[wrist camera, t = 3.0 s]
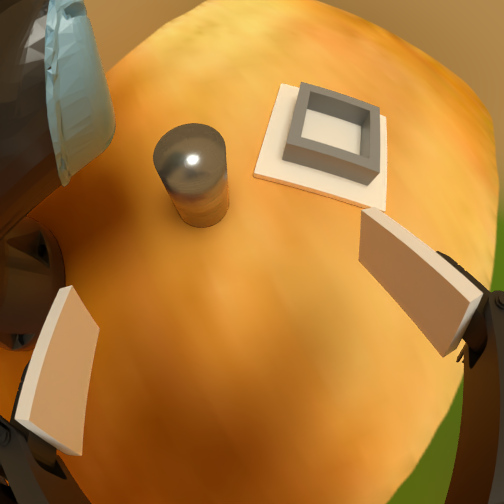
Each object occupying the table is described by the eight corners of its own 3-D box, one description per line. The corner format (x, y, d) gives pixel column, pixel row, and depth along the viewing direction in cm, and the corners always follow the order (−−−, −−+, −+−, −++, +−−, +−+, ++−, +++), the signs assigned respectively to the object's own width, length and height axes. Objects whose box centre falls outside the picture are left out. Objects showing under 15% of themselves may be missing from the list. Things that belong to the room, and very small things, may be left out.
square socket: (253, 176, 27) (255, 156, 24) (280, 87, 31) (284, 66, 27) (381, 214, 27) (399, 200, 23) (383, 120, 30) (395, 102, 27)
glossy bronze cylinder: (170, 220, 26) (142, 175, 17) (187, 175, 27) (169, 119, 18) (220, 233, 26) (212, 190, 17) (234, 186, 27) (234, 129, 18)
